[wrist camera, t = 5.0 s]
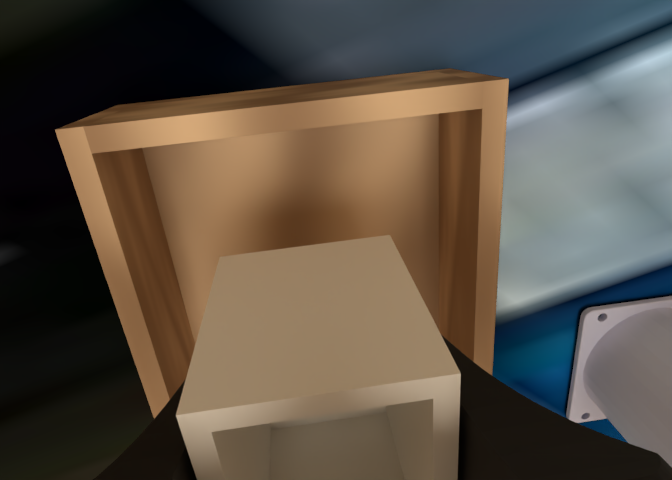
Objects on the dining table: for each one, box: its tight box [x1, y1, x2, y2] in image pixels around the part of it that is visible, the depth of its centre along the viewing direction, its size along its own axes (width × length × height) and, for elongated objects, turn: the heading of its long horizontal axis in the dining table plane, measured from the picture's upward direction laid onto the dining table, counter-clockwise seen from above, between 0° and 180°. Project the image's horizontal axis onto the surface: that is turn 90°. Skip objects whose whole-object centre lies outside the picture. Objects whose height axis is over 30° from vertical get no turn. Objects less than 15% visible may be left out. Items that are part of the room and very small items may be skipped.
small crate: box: [176, 235, 461, 480], centre depth 12 cm, size 5×7×6 cm
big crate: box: [55, 68, 509, 419], centre depth 19 cm, size 14×14×6 cm
